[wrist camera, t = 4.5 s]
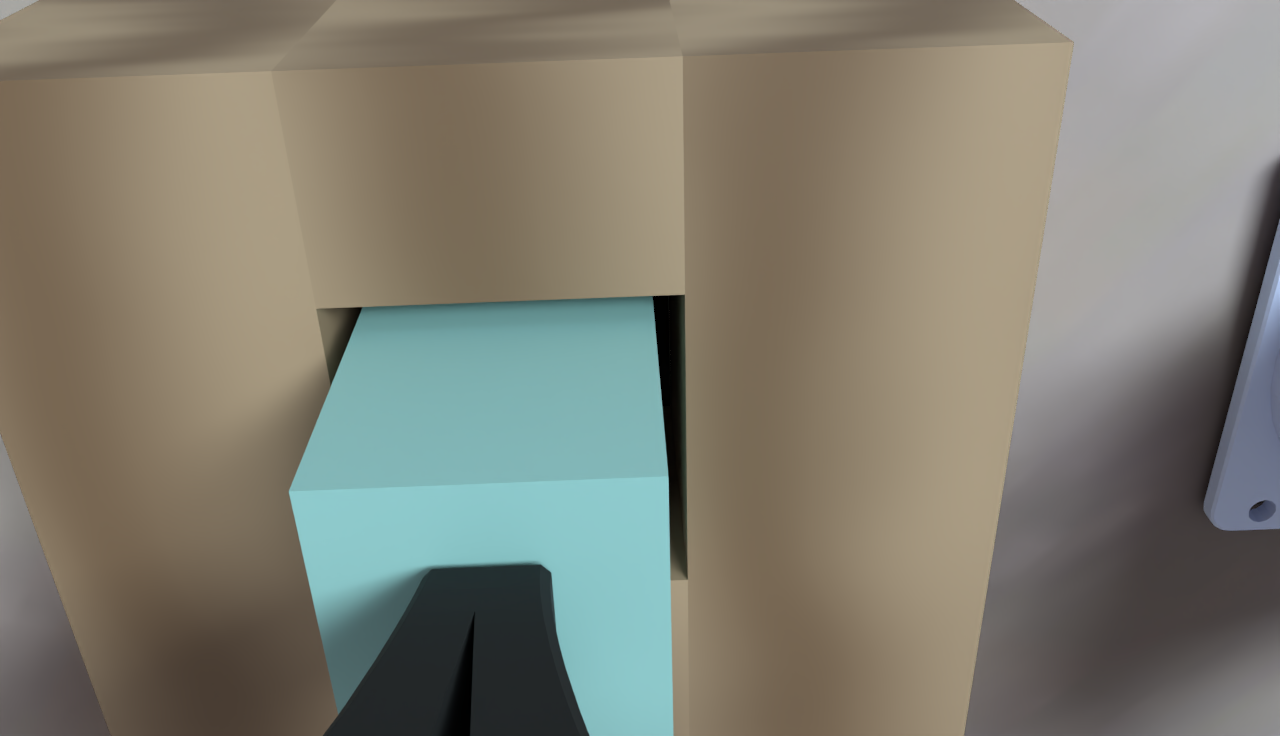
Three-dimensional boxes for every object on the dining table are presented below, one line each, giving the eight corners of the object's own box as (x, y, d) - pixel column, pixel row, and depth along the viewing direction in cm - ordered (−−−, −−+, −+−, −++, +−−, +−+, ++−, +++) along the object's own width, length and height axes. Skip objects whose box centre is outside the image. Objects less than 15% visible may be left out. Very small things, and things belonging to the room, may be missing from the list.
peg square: (650, 274, 16) (668, 475, 12) (656, 500, 18) (673, 742, 14) (370, 285, 16) (288, 490, 12) (407, 510, 18) (347, 757, 14)
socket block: (958, -39, 18) (1074, 42, 13) (862, 877, 29) (908, 1084, 24) (52, -7, 18) (-127, 85, 13) (302, 901, 29) (248, 1115, 24)
